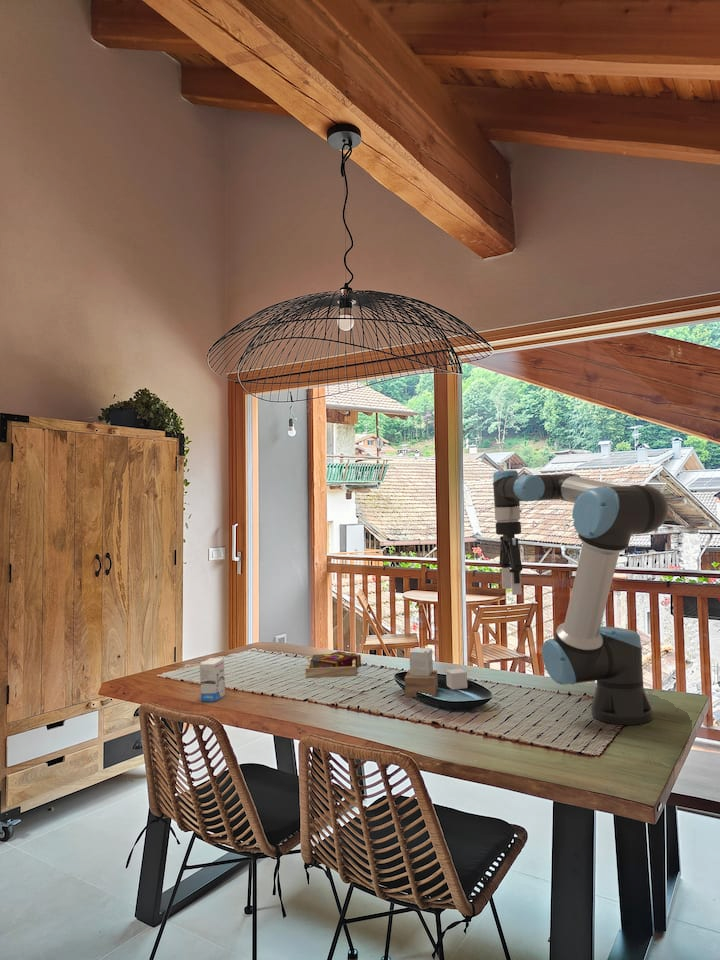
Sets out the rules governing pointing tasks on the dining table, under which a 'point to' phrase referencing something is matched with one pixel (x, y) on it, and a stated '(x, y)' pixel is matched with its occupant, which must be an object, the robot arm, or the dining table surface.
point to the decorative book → (336, 660)
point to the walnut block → (421, 684)
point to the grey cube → (456, 679)
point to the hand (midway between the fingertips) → (511, 591)
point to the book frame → (329, 669)
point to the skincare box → (421, 662)
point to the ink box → (212, 679)
